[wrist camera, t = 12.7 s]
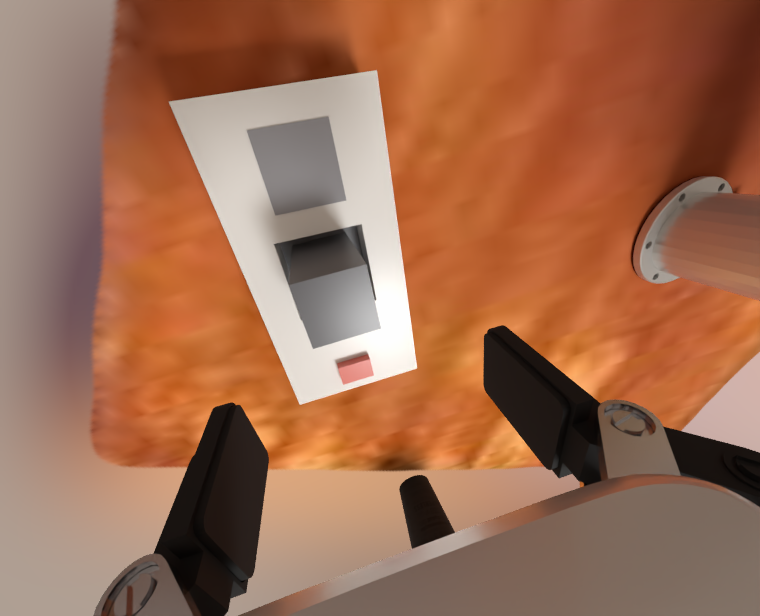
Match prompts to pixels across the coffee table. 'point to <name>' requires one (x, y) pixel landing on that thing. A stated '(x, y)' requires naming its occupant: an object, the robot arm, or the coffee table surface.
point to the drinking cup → (423, 512)
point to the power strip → (307, 211)
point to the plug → (332, 290)
